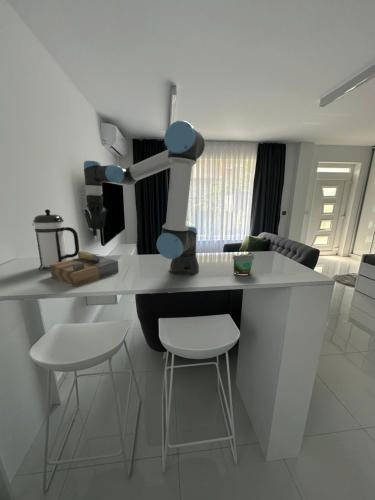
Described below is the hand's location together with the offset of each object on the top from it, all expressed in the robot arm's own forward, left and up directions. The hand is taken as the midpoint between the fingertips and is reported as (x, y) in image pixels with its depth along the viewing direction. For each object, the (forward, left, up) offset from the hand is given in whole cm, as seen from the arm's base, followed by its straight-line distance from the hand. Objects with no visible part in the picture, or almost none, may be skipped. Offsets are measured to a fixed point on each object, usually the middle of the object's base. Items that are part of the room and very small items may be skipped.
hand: (97, 241), depth 110 cm
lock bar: (-4, +8, -7) cm, 11 cm away
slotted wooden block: (-5, +11, -14) cm, 18 cm away
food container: (-67, -36, -14) cm, 78 cm away
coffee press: (+18, +13, -14) cm, 26 cm away
